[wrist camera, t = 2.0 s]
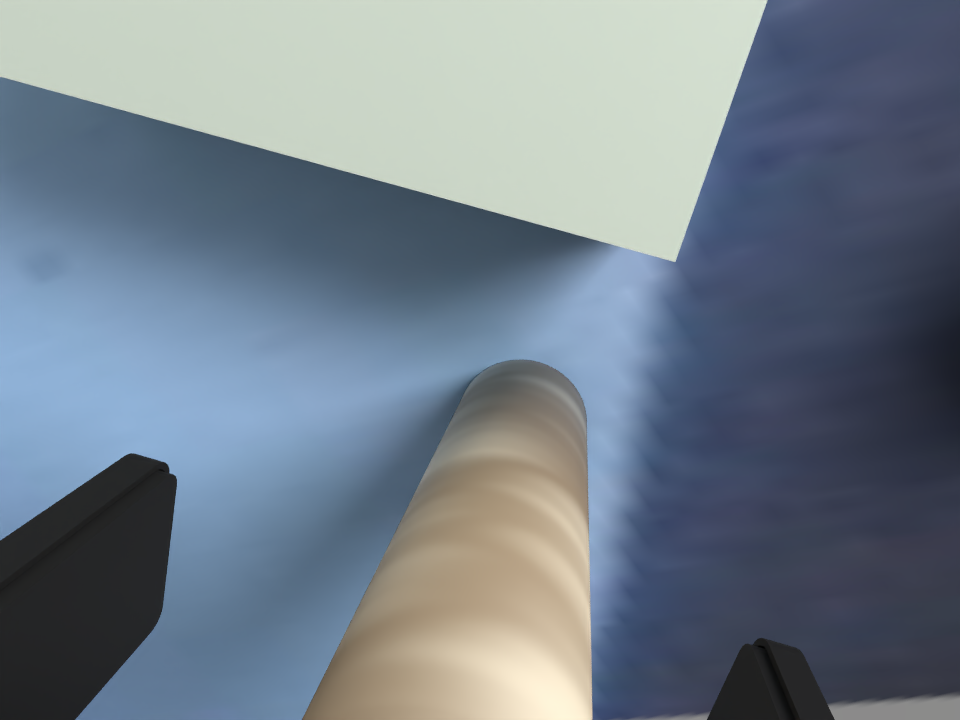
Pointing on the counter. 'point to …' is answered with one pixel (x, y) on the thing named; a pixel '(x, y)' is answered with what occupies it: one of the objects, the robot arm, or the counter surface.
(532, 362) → the pin
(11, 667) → the robot arm
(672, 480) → the counter surface
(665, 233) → the hole block
